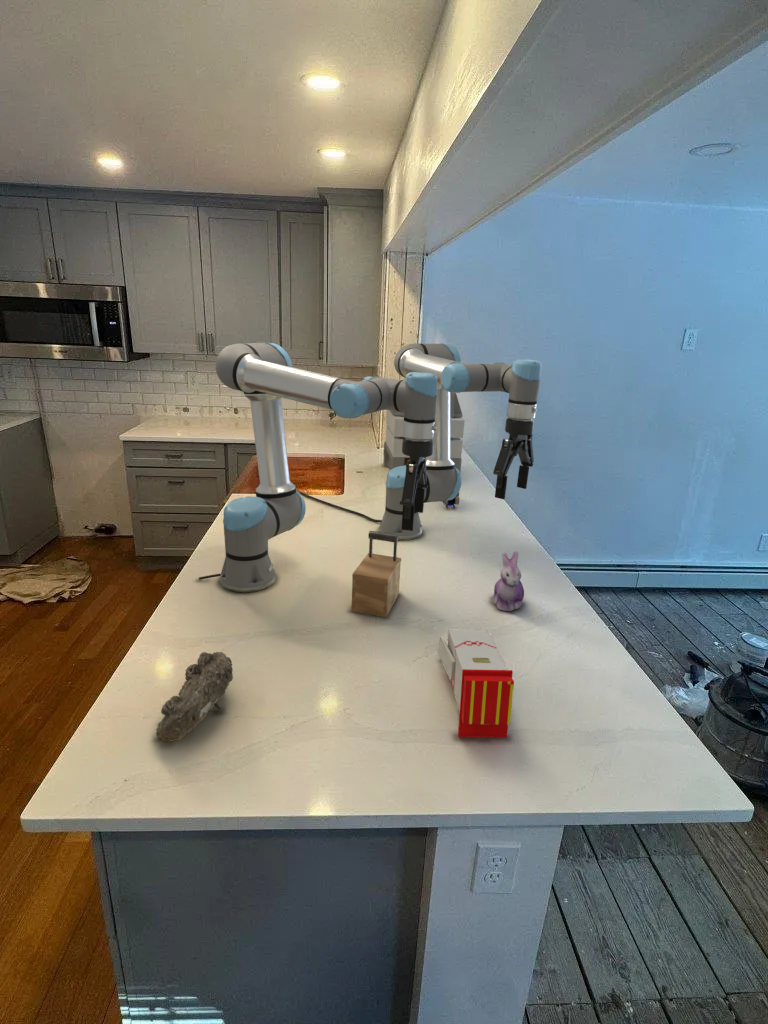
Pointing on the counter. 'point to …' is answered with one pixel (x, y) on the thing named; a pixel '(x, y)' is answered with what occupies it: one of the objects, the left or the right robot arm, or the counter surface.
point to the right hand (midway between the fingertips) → (510, 492)
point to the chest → (375, 595)
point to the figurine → (509, 585)
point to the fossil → (195, 695)
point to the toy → (478, 682)
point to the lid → (378, 560)
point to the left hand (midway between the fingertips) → (412, 520)
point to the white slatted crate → (395, 437)
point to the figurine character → (452, 502)
